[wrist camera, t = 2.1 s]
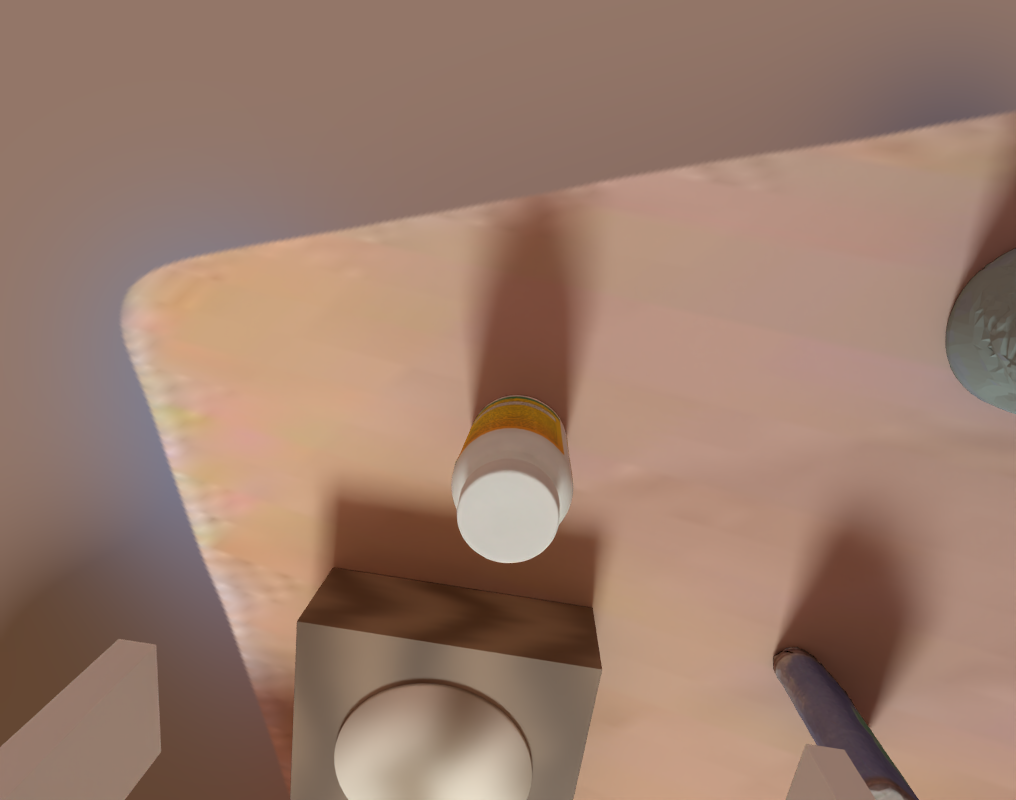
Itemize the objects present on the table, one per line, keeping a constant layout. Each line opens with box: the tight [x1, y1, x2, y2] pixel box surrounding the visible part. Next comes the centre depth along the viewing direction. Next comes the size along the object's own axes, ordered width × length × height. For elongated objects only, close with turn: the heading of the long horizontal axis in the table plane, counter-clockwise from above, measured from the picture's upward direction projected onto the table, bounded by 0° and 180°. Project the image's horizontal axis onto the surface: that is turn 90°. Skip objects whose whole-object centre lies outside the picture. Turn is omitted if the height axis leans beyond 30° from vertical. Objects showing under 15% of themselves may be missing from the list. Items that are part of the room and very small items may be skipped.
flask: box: [773, 647, 919, 800], centre depth 28 cm, size 9×3×11 cm, turn 36°
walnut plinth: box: [290, 568, 602, 800], centre depth 32 cm, size 16×16×5 cm
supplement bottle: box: [451, 395, 573, 563], centre depth 25 cm, size 5×5×10 cm
